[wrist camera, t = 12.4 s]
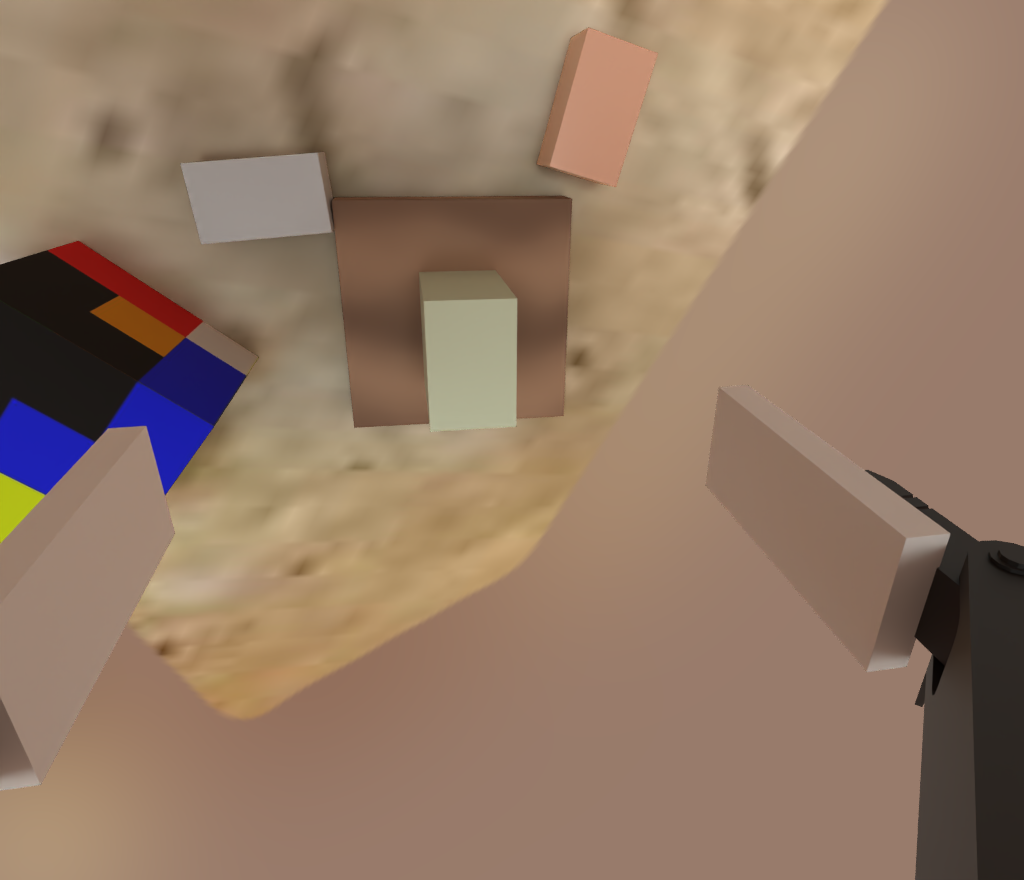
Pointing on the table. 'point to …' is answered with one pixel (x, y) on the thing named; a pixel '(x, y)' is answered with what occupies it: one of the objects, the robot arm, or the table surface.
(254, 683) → the table surface
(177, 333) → the puzzle toy
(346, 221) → the walnut slab
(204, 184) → the grey brick
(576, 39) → the terracotta brick
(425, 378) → the sage brick
